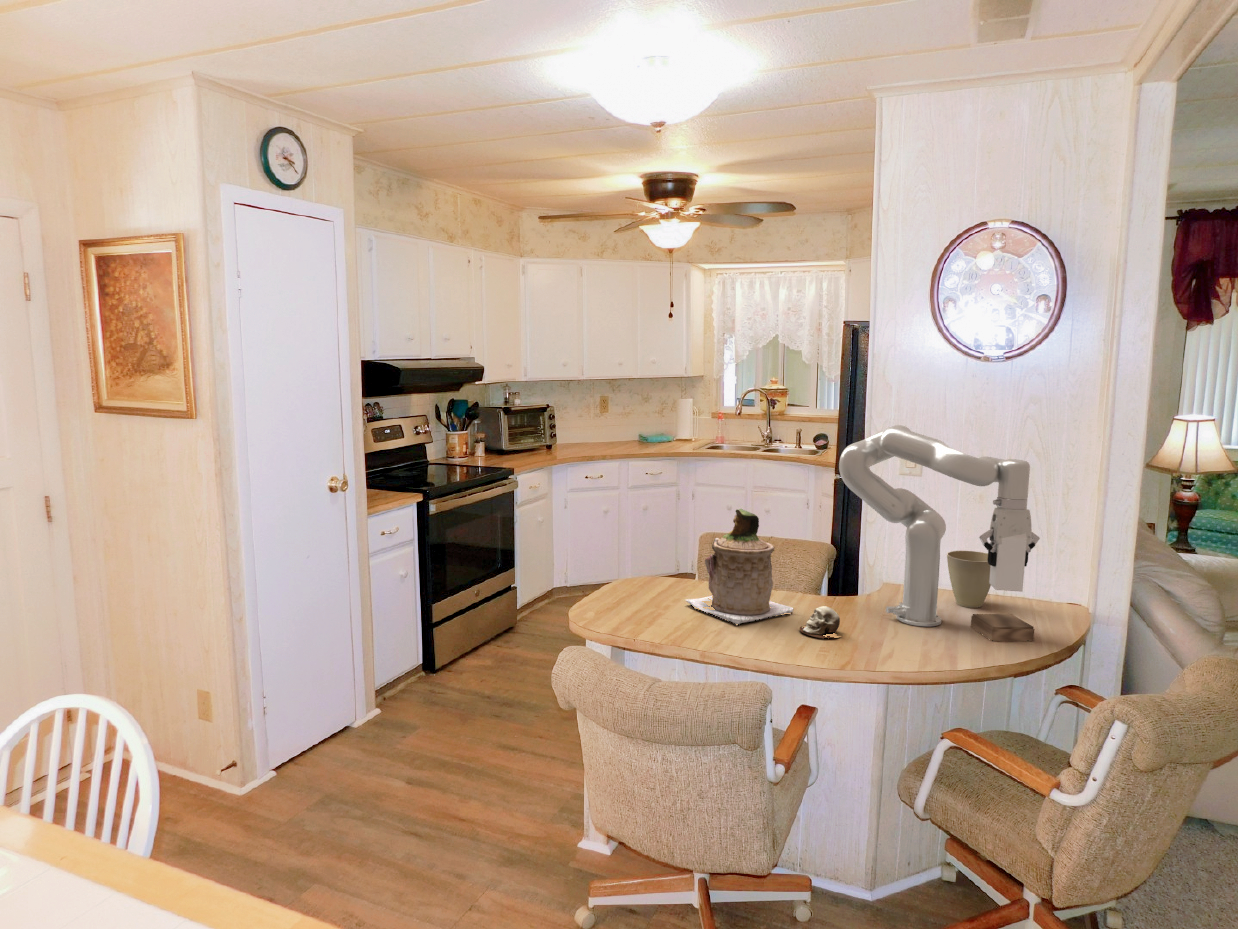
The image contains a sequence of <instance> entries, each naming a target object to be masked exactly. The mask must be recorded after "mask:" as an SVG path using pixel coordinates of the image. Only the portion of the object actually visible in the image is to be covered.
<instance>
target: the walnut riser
mask: <svg viewBox="0 0 1238 929" xmlns="http://www.w3.org/2000/svg"><path fill="white" fill-rule="evenodd" d="M970 620H971V621H970V628H971V627H972V629H973V630H974V631H976V632H977V633H979V632H980V633H981V634H980V633H979V634H980V635H982V634H983V635H984V636H983V635H982V636H983V637H985V638H986V637H987V638H986V639H988V638H989V639H990V640H991V641H990V640H989V639H988V640H989V641H990V642H1034V640H1035V628H1034V626H1033V625H1031V624H1029V623H1027V622H1026V621H1024V620H1022V618H1019V617H1018V616H1016V615H1014V614H1012V613H973V614H972V615H971V619H970ZM992 640H993V641H992ZM1027 640H1029V641H1027Z"/></svg>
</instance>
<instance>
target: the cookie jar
mask: <svg viewBox="0 0 1238 929" xmlns="http://www.w3.org/2000/svg"><path fill="white" fill-rule="evenodd" d="M759 519H760V518H759V516H758V515H756V514H755V513H752V512H750V511H747V510H745V509H742V508H737V509H736V510H735V515H734V517H733V519H732V520H733V521H732V523H733V524H734V525H733V527H732V528H733V529H732V530H731V531H729V532H728V533H726V534H724V535H723V536H721V538H719V537H716V538H714V540H713V542H712V545H711V548H712V550H713V551H714V554H713V553H711V554H709V557H708V556H707V557H706V558H705V559H704V565H705V567H706V572H707V573H708V575H709V578H708V590H709V592H710V593H711V594H712V595H708V596H705V597H699V598H688V599H687V598H686V599H685V602H687V604H689V605H690V604H691V605H692V606H694V607H696V608H699V609H700V610H702V611H704V612H703V613H705V612H706V613H705V614H708V613H711V614H713V615H715V616H714V617H716V616H718V617H720V618H719V619H721V618H722V619H721V620H723V619H726V620H728V621H727V622H729V621H731V622H733V623H732V624H734V623H735V624H739V625H740V624H742V623H744V624H745V623H749V622H755V620H756V621H759V619H760V620H764V619H768V617H769V618H773V617H772V616H775V617H777V616H776V615H781V614H784V613H791V612H792V613H793V612H794V609H795V608H793V607H792V606H789V605H785V604H781V603H777V602H774V601H772V600H771V595H772V591H773V585H774V584H773V583H774V582H773V565H772V557H771V555H772V554H773V552H775V546H774V545H773V544H772V543H770V542H766V541H765V540H763V539H761V538H759V536H758V535H757V534H758V531H759V527H760V520H759ZM712 596H713V598H712ZM708 598H709V599H711V600H712V605H711V607H713V608H714V609H715V610H710V609H708V608H707V609H705V608H703V607H710V606H708V605H707V604H706V603H704V602H702V601H710V600H709V599H708ZM769 601H770V602H769ZM691 605H690V606H691ZM692 606H691V607H692ZM770 607H771V608H770ZM702 611H701V612H702ZM713 615H712V616H713ZM718 617H717V618H718ZM726 620H725V621H726ZM731 622H730V623H731ZM735 624H734V625H735Z"/></svg>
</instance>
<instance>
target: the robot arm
mask: <svg viewBox="0 0 1238 929" xmlns="http://www.w3.org/2000/svg"><path fill="white" fill-rule="evenodd" d="M893 457H896V458H898V459H901V460H904V461H908V462H910V463H913V464H916V465H919V466H922V467H924V468H928V469H930V470H932V471H935V472H937V473H940V474H943V475H945V476H948V477H950V478H952V479H954V480H957V481H960V482H964V483H967V484H970V485H972V486H976V487H987V486H990V485H992V484H993V483H998V489H997V497H996V499H993V500H992V504H993V505H996V507H994V509H993V513H992V516H991V521H990V526H989V530H987V531H986V532H984V533H982V534H980V535H979V537H978V538H979V540H980V542H981V544H982V545H983V547H984V548H985V549H986V550H987V553H988V564H989V565H991V566H996V559H997V553H996V552H995V551H996V549H997V545H999V544H1002V538H1006V537H1011V536H1014V535H1021V534H1025V533H1026V538H1027V542H1026V554H1025V567H1027V565H1028V562H1029V553H1031V551H1032V550H1033V549H1034V548H1035V546H1036V544H1037V543H1038V542H1039V540H1040V539H1041V537H1040V536H1039V535H1037V534H1035V533H1034V532H1033V531H1032V516H1031V515H1032V514H1031V509H1028V497H1029V485H1030V484H1029V483H1030V472H1031V464H1030V463H1029V462H1028V461H1027V460H1023V459H1014V458H1013V459H1012V458H1011V459H1009V458H1008V459H1002V458H997V457H992V456H981V457H980V456H979V457H976V456H973V455H969V454H966V453H964V452H961V451H958V450H956V449H953V448H952V447H950V446H949V445H947V444H946V443H945V442H944V441H942V440H939V439H937V438H934V437H930V436H927V435H924V434H921V433H917V432H915V431H912V430H911V429H910V428H909V427H907V426H906V425H901V424H900V425H899V424H897V425H893V426H892V425H891V426H888V428H886V429H884V430H883V431H880V432H878V433H877V434H874V435H872V436H869V437H866V438H865V439H862V440H859V441H856V442H854V443H851V444H849V445H847V446H846V447H845V448H844V449H843V451H842V452H841V455H840V457H839V462H838V463H839V464H838V470H839V474H840V477H841V480H842V481H843V483H844V484H845V486H846V487H847V488H848V489H849V490H850V491H851V492H853V493H854V495H856V496H857V497H859V499H860V500H862V501H863V502H864V503H866V504H867V505H868V506H869V507H870V508H872V509H873V511H875V512H876V513H878V514H879V515H880V516H881V517H882V518H883V519H884V520H886V521H888V522H889V523H892V524H898V523H899V524H902V525H903V526H904V527H906V530H905V536H904V537H905V555H904V556H905V559H904V576H903V592H902V593H903V596H902V602H899V605H896V606H893V605H892V606H891V605H890V606H889V605H888V606H886V607H885V612H886V614H892V613H893V615H895V616H896V617H895V618H896V619H897V620H898V621H899V622H902V623H903V624H907V625H910V626H916V627H924V628H925V627H936V626H939V625H941V624H942V617H940V616H939V615H938V614H937V608H938V606H937V605H938V595H939V581H940V580H939V578H940V565H941V564H940V563H941V562H940V561H941V560H940V559H941V540H942V538H943V537H944V535H945V534H946V530H947V524H946V521H945V519H944V517H943V516H942V515H941V514H940V513H939V512H937V511H936V510H935V509H934V508H932V507H931V506H930V505H929V504H928V503H926V502H925V501H924V500H923V499H921V498H920V497H918V496H917V495H916V494H915V493H914V492H912V491H911V490H908V489H905V488H902V487H900V488H894V487H893V486H891V485H890V484H889V483H887V482H886V481H885V480H884V479H883V478H881V477H880V476H878V475H877V474H876V473H874V472H873V471H872V470H871V469H870V467H872V466H874V465H875V466H876V464H880V463H881V462H884V461H887V460H889V459H891V458H893ZM1000 537H1001V538H1000ZM988 538H989V539H988ZM988 540H989V541H990V542H989V541H988Z"/></svg>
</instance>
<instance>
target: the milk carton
mask: <svg viewBox="0 0 1238 929" xmlns="http://www.w3.org/2000/svg"><path fill="white" fill-rule="evenodd" d="M1000 538H1001V537H1000ZM1026 542H1027V538H1026V533H1025V534H1021V535H1014V536H1011V537H1006V538H1002V544H999V545H997V549H996V551H995V552H996V553H997V559H996V566H990V579H989V583H990V585H991V586H990V587H992V588H993V589H994V590H995V591H1004V592H1005V591H1006V592H1007V591H1008V592H1018V593H1019V592H1020V593H1021V592H1023V589H1024V578H1025V577H1024V575H1025V568H1026V566H1025V554H1026Z"/></svg>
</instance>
